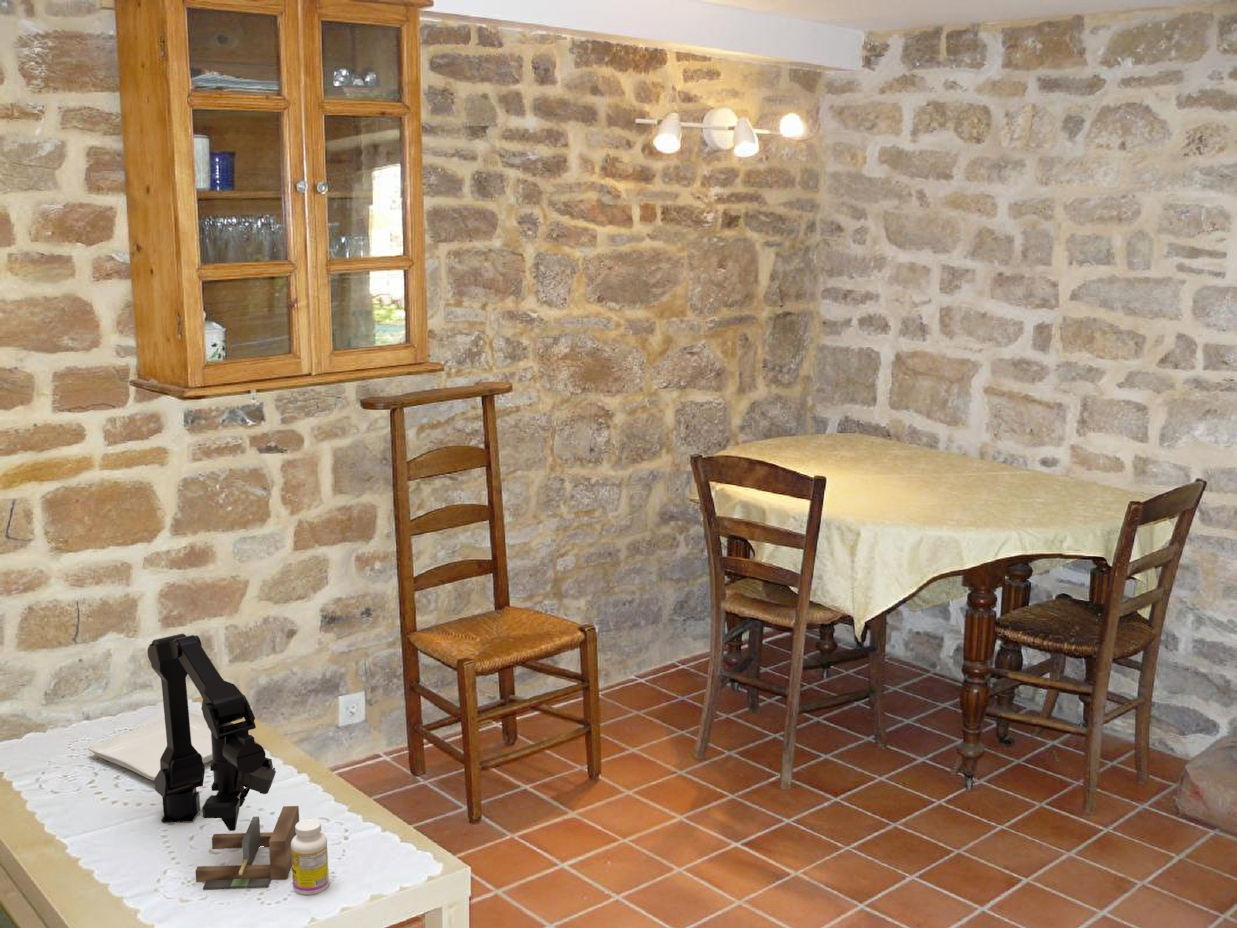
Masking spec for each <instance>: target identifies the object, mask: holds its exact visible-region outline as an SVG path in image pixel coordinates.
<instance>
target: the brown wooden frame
mask: <svg viewBox="0 0 1237 928" xmlns="http://www.w3.org/2000/svg"><path fill="white" fill-rule="evenodd" d="M299 808H300V807H299V805H287V806H286V805H284V806H283V807H282V809H281V811H280V814H279V816H278V818H277V822H276V823H275V826H274V828H273V831H272V832H268V831H267V832H260V839H261V845H260V846H264V847H263V848H269V849H268V850H269V864H268V863H267V864H264V863H262V864H252V865H246V867H245V869H244V872H243V874H242V875H239V871H240V868H241V866H242V864H238V865H237V864H236V865H234V864H233V865H206V866H205V865H203V866H202V865H201V866H197V867H196V868H195V883H204V885H203V887H202V890H203V891H209V890H212V891H213V890H240V889H241V890H243V889H247V890H248V889H268V888H269V886H270V883H271V881H278V880H280V881H281V880H287V881H288V877H289V875H290V872H291V871H292V858H291V841H292V839H293V838H294V836H296V835H297V834H296V832H295V825H296V824H297V823H298V822H299V821H300V810H299ZM245 834H246V832H244V833H243V832H242V833H241V832H240V833H237V832H235V833H214V834H213V835H212V837H211V846H212V850H217V849H218V850H221V849H223V850H224V848H228V849H242V840H243V838H244V836H245Z"/></svg>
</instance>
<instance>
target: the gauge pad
mask: <svg viewBox="0 0 1237 928" xmlns="http://www.w3.org/2000/svg"><path fill="white" fill-rule="evenodd" d="M260 822H261V821H260V816H253V817H252V818H251V821H250V822H249V825H248V827H247V830H246V832H245V833H246V834H245V836H244V838H243V840H242V848H241V849H242V852H241V853H242V864H241V865H242V866H241V868H240V871H239V875H242V874H243V872H244V869H245V867H246V865H254V861H255V859H256V857H257V854H258V852H259V850H260V848H259V847H260V845H261V839H260V833H261V823H260Z"/></svg>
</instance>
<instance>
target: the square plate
mask: <svg viewBox="0 0 1237 928" xmlns="http://www.w3.org/2000/svg"><path fill="white" fill-rule="evenodd" d="M189 721H190V733H191V743H192V746H193V747H194V748H195V749H196V751H197V752H198V753H200V754H201V756H202V762H203V764H204V765H205V764H206V763H209V762H213V757H212V741H211V731H210V729H209V728H208V725H207V723H206V721H205V719H204V716H203V714H199V713H196V712H193V711H189ZM249 735H252V736H253V737H254V739H256V736H255V735H253V734H251V733H249ZM166 747H167V737H166V726H165V717H163V718H162V719H159V720H156V721H153V722H150V723H147V724H145V725H142V726H140V727H137V728H134V729H132V730H129V731H126V732H123V733H122V734H118V735H116V736H113V737H112V738H108V739H106V740H104V741H101V742H98V743H97V744H93V745H92V746H89V747H88V748H87V750H88V751H90V752H92V753H93V755H96V756H97V757H99V758H101V759H102V760H103V759H104V760H106V761H108V762H110V763H112V764H116V765H118V766H121V767H123V768H125V769H128V770H130V771H132V772H134V773H136V774H139V775H140V776H142V777H144V778H146V779H148V780H151V781H153V782H154V779H155V777H156V776H157V774H158V772H159V771H160V759H161V757H162V755H163V753H164V751H165V749H166Z"/></svg>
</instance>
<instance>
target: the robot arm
mask: <svg viewBox="0 0 1237 928" xmlns="http://www.w3.org/2000/svg"><path fill="white" fill-rule="evenodd" d="M147 657H148V660H149V662H150V666H151V669H153V671H154V672H155V673H156V675H157V676H158V677H159V678H160V681H161V691H162V703H163V713H164V718H165V726H166V737H167V747H166V749H165V751H164V753H163V755H162V757H161V759H160V771H159V772H158V774H157V776H156V777H155V779H154V781H153V786H154V790H155V792H156V793H158V794H159V796H161V798H162V809H163V810H162V811H163V816H162V818H161V819H160V820H161V823H162V824H164V823H165V824H166V823H168V824H169V823H192V822H194V820H195V819H196V816H197V815H198V814H199V812H200V811H201V815H202V818H203V819H221V820H222V822H223V824H224V825H225V826H226V828H227V829H228V831H229V832H234V831H236V829H237V824H238V819H239V815H240V814H239V813H240V808H241V807H242V806H243V805H244V803H245V800H246V797H247V796H248V794H249V792H250V790H252V791H255V792H259V794H262V795H267V794H269V793H270V792H269V791H270V789H271V787H272V784H273V782H274V779H275V775H276V771H277V770H276V767H274V765H273V761H272V758H270V757H269V758H268V757H266V755H267V754H266V751H265V749H264V747H263V746H262V745H261V744H259V743H258V741H255V738H254V737H253V736H254V735H253V734H250V733H249V731H251V730H254V729H256V728H257V726H256V723H255V720H256V716H255V713H253V710H252V708H251V705H250V702H249V701H248V699H247V697H246V696H245V694H243V692H242V691H241V690H240V689H239V687H238V686H236V685H235V684H234V683H232V682H229V681H227V680H224V678H223V677H222V676H221V674H220V673H219V671H218V669H217V668H216V667H215V664H214V663H213V662H212V661H211V659H210V657H209V656H208V653H206V651H205V650H204V648H203V647H202V641H201V639H200V637H199V635H193V634H191V635H186V634H184V633H179V634H174V635H170V636H164V637H161V638H156V639H153V640H152V641H151V643H149V645H148V647H147ZM187 677H189V678H190V680H191V682H192V684H194V686H195V688H196V689H197V691H198V692H199V694H200V696H201V698H202V703H201V711H202V716H204V719H205V721H206V723H207V725H208V728H209V729H210V731H211V741H212V757H213V760H212V761H211V764H210V766H209V768H210V769H209V771H210V772H212V773H213V782H212V784H211V785H210V788H211V791H212V792H216V794H213V795H210V796H208V798H206V800H205V802H204V803H203V805H202V807H201V800H200V792H199V791H197V788H199V787H200V788H201V787H203V785H204V780H205V773H206V772H205V771H206V769H205V767H206V766H205V764H203V762H202V756H201V754H200V753H198V752H197V751H196V749H195V748H194V747H193V746H192V743H191V733H190V721H189V699H188V690H187V689H188V688H187ZM243 719H244V720H243ZM240 720H242V721H240ZM236 721H239V722H236ZM233 722H235V723H233ZM249 734H250V735H249ZM252 735H253V736H252Z"/></svg>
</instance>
